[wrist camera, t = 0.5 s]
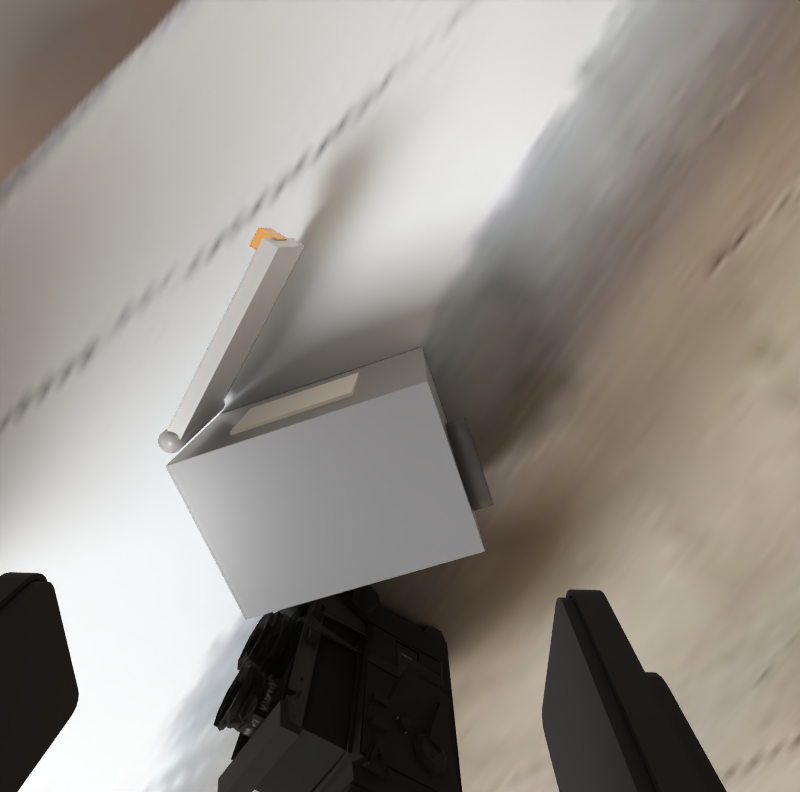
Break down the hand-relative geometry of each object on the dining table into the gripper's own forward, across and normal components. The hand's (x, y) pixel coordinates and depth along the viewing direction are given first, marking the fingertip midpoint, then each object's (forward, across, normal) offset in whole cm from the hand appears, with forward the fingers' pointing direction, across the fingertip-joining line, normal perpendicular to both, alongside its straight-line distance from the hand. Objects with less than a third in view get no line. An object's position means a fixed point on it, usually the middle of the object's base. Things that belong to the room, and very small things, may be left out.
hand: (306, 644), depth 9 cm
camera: (+24, +2, +22) cm, 32 cm away
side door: (+23, +8, -2) cm, 24 cm away
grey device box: (+24, +2, +7) cm, 25 cm away
